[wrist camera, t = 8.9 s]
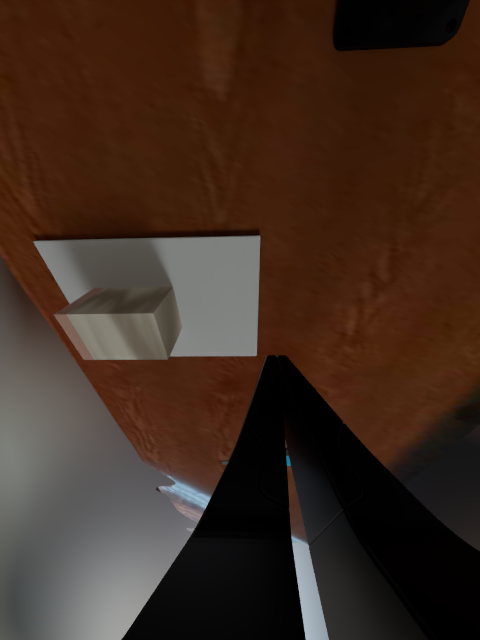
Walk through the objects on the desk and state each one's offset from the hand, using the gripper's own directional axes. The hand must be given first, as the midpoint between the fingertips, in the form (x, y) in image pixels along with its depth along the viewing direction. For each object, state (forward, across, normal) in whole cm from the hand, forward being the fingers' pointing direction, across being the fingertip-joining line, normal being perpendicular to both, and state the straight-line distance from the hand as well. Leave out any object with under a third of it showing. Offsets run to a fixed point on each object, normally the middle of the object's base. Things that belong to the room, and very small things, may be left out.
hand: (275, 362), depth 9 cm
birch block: (+9, +8, +4) cm, 13 cm away
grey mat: (+12, +10, +4) cm, 16 cm away
